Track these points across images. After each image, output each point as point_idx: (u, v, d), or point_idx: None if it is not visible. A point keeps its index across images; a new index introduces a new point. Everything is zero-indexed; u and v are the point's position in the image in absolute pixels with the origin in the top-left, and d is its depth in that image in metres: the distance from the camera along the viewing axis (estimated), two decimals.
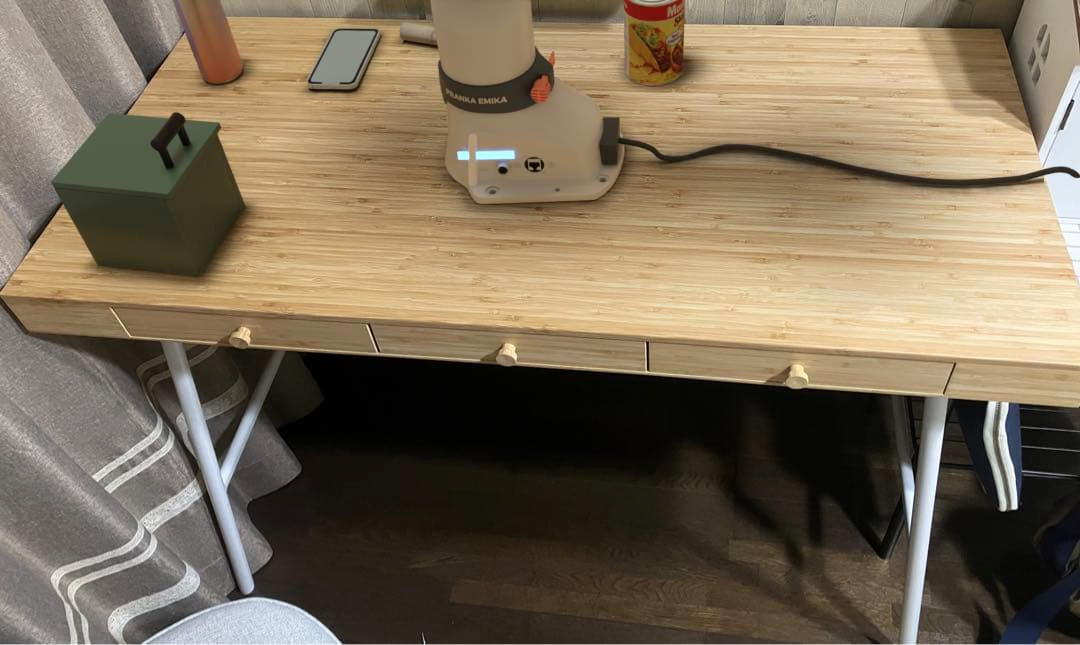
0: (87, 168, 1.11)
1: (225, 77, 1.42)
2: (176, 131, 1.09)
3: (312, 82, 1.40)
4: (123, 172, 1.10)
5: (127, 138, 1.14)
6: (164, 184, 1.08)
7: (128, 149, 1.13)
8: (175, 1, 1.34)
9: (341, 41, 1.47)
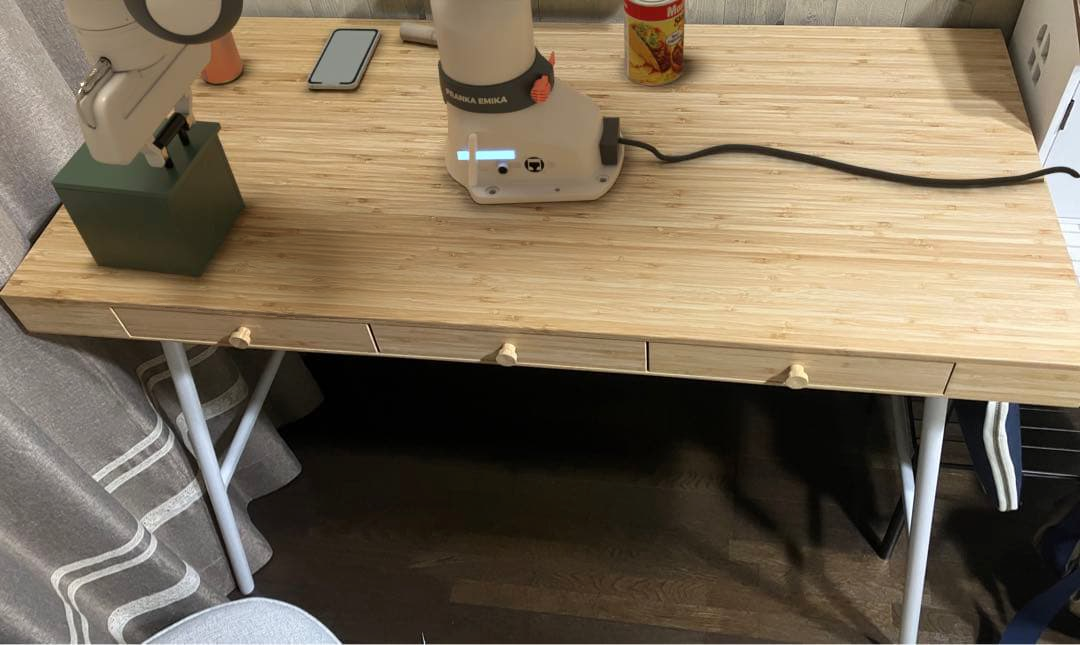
0: (87, 168, 1.11)
1: (225, 77, 1.42)
2: (176, 131, 1.09)
3: (312, 82, 1.40)
4: (123, 173, 1.10)
5: None
6: (164, 184, 1.08)
7: None
8: None
9: (341, 41, 1.47)
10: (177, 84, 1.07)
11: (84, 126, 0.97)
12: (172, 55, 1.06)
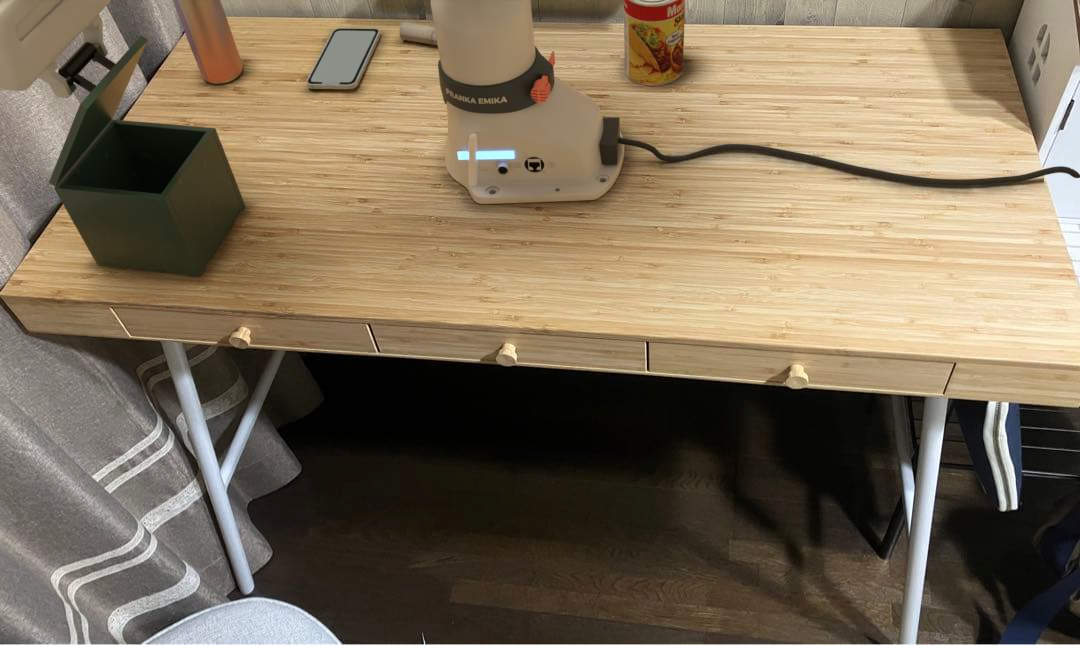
0: None
1: (225, 77, 1.42)
2: (82, 56, 1.04)
3: (312, 82, 1.40)
4: None
5: None
6: None
7: None
8: (174, 1, 1.34)
9: (341, 41, 1.47)
10: (82, 10, 1.02)
11: None
12: None
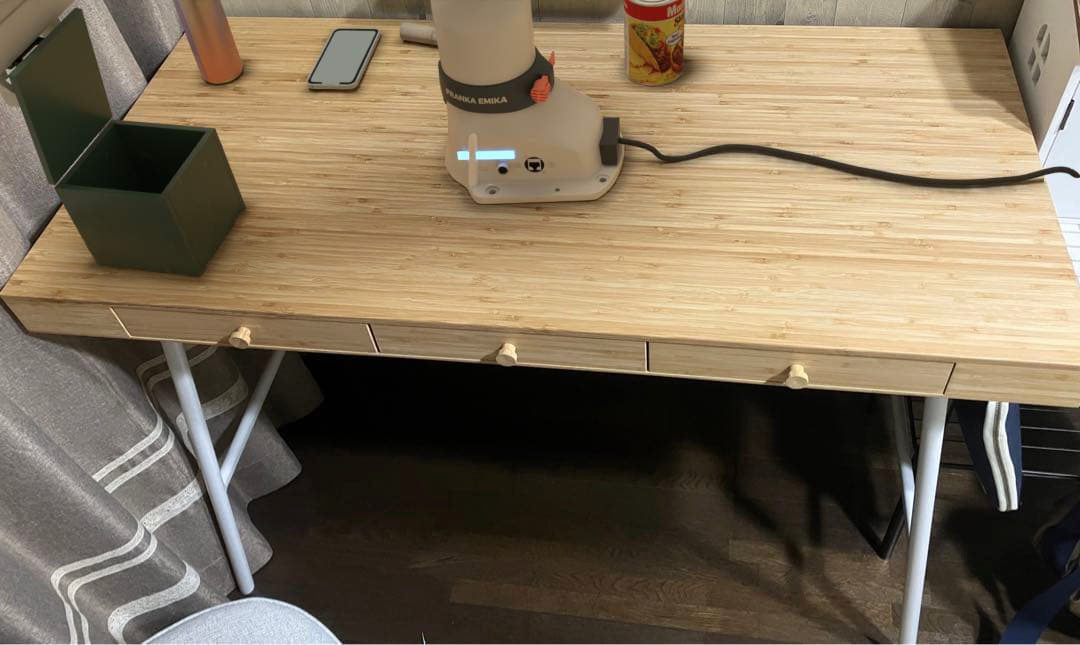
0: None
1: (225, 77, 1.42)
2: None
3: (312, 82, 1.40)
4: None
5: None
6: None
7: None
8: (174, 1, 1.34)
9: (341, 41, 1.47)
10: (37, 17, 1.04)
11: None
12: None
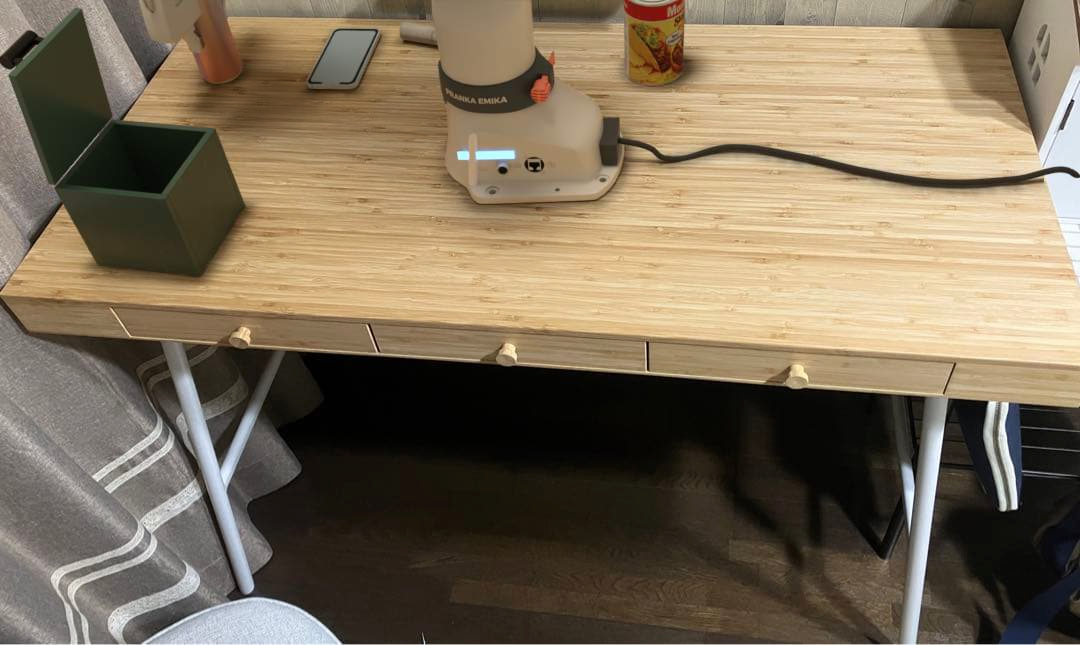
0: None
1: (225, 77, 1.42)
2: (20, 41, 1.05)
3: (312, 82, 1.40)
4: None
5: None
6: None
7: None
8: None
9: (341, 41, 1.47)
10: None
11: (145, 10, 1.28)
12: None
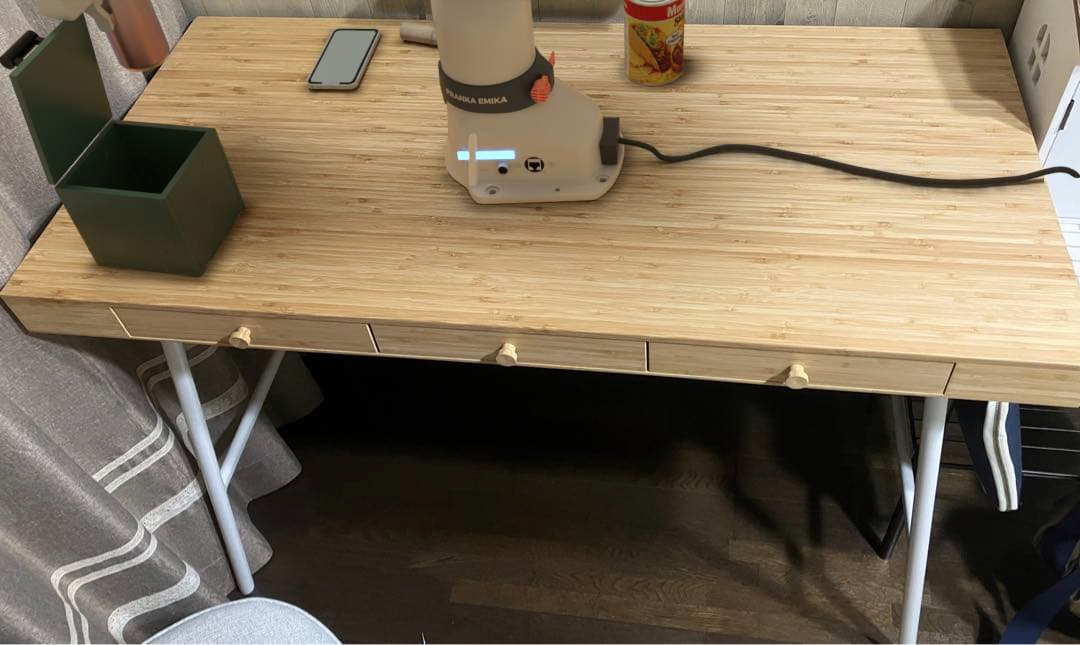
0: None
1: (146, 64, 1.15)
2: (20, 41, 1.05)
3: (312, 82, 1.40)
4: None
5: None
6: None
7: None
8: None
9: (341, 41, 1.47)
10: None
11: None
12: None
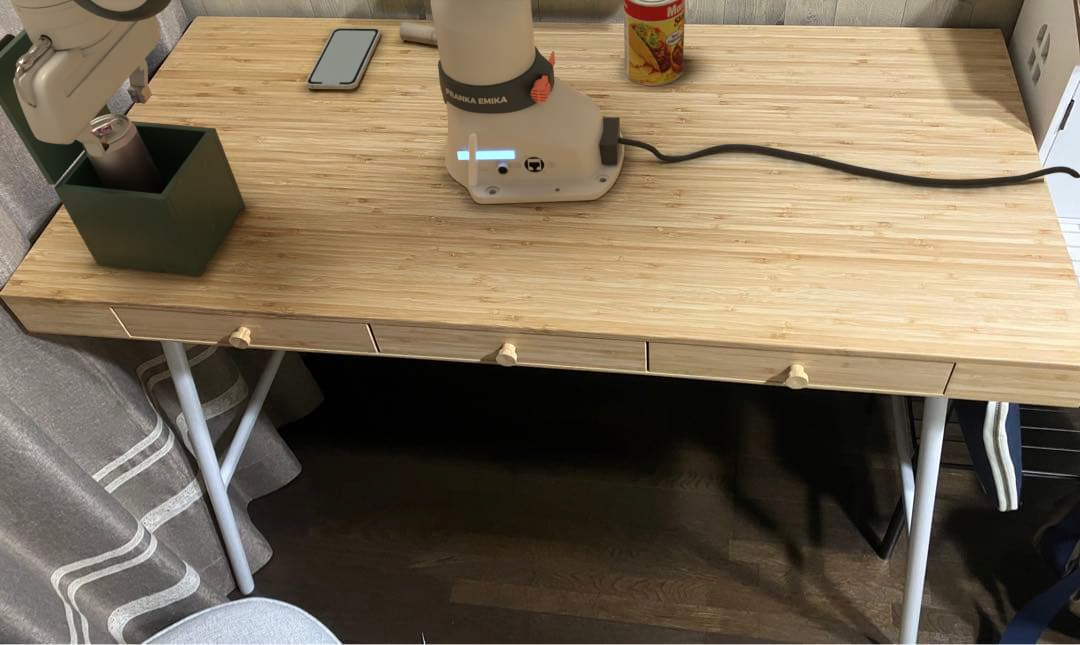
0: None
1: None
2: None
3: (312, 82, 1.40)
4: None
5: None
6: None
7: None
8: None
9: (341, 41, 1.47)
10: (123, 64, 1.06)
11: (25, 104, 0.97)
12: (118, 34, 1.05)
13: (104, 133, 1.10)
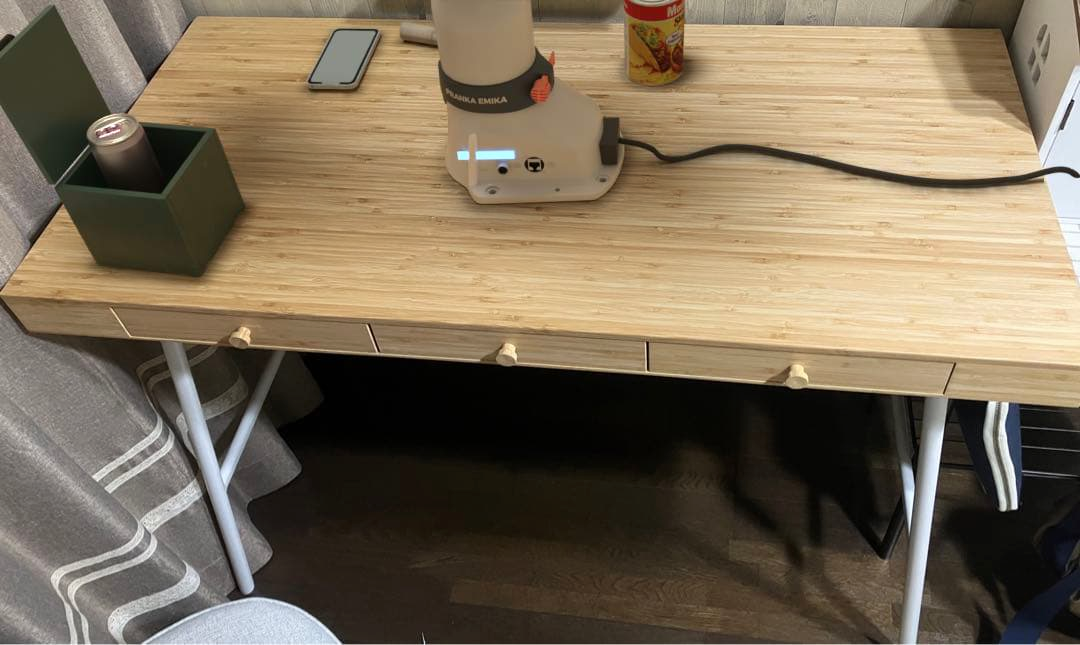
0: None
1: None
2: None
3: (312, 82, 1.40)
4: None
5: None
6: None
7: None
8: None
9: (341, 41, 1.47)
10: None
11: None
12: None
13: (111, 133, 1.10)
